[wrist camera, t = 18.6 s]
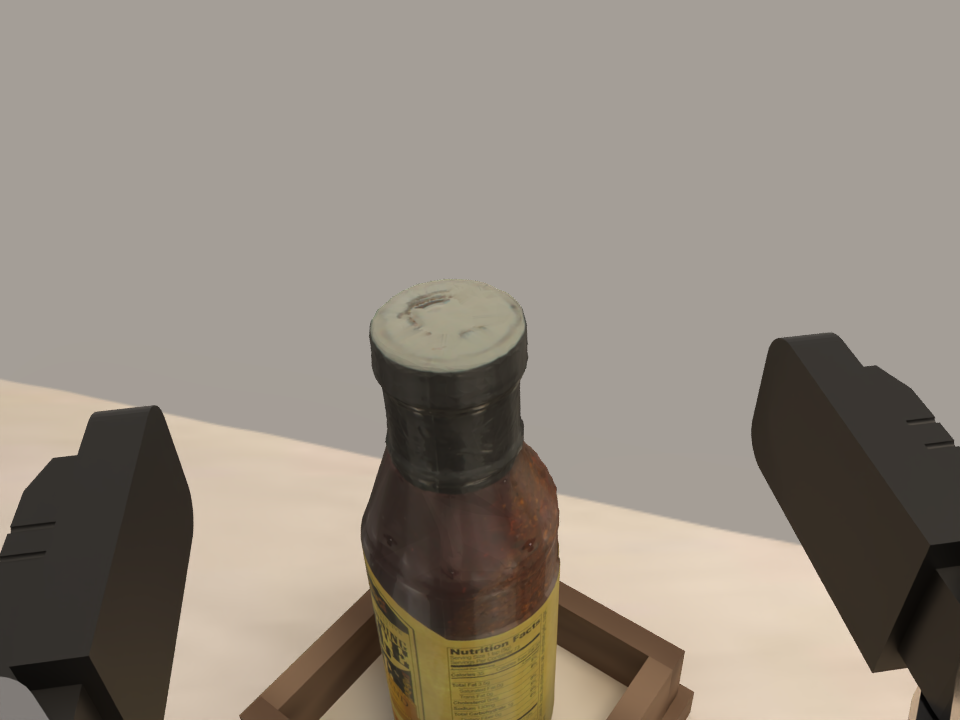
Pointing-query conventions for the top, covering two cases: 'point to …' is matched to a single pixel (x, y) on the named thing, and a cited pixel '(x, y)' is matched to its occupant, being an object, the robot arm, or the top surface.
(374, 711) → the frame
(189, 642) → the top surface
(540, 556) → the sauce bottle
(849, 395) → the robot arm
